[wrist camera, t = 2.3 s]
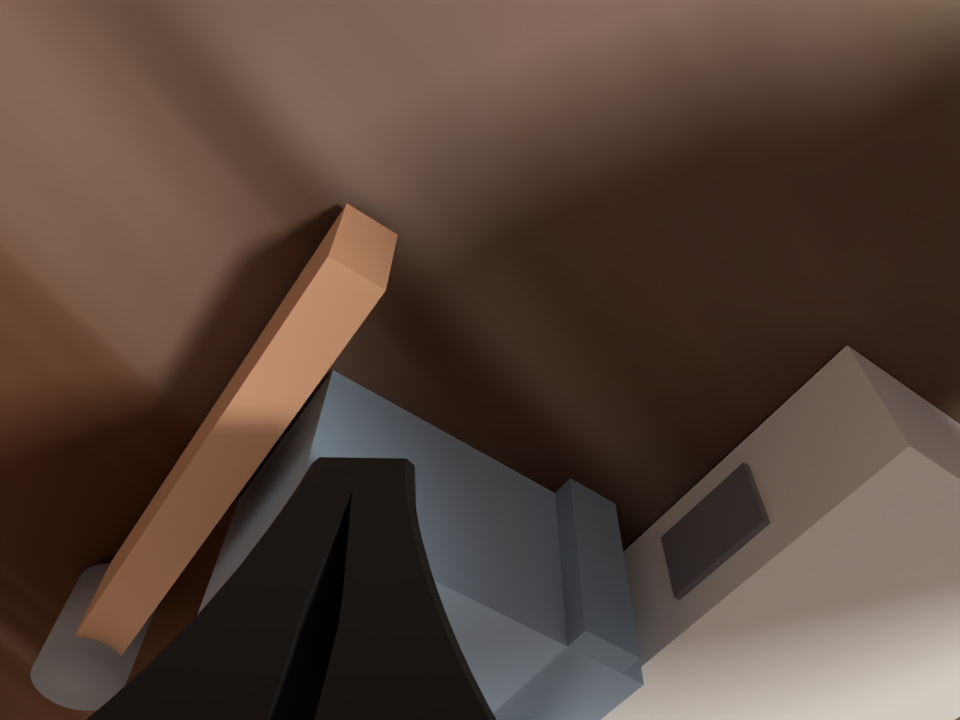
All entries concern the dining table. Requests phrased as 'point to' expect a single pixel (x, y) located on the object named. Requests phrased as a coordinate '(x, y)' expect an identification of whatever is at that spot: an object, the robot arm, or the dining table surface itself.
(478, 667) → the plug
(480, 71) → the dining table surface
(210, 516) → the wooden block bar
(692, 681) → the power strip
